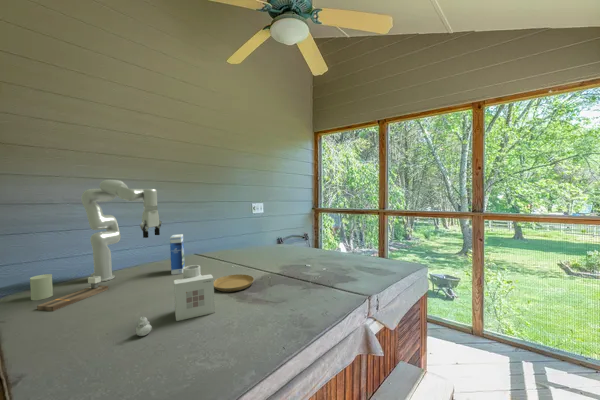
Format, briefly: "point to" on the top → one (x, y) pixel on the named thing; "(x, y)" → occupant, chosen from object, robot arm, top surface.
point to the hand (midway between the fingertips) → (151, 236)
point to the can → (41, 287)
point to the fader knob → (94, 281)
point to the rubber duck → (143, 327)
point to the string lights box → (177, 254)
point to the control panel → (193, 294)
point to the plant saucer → (233, 282)
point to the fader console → (71, 298)
